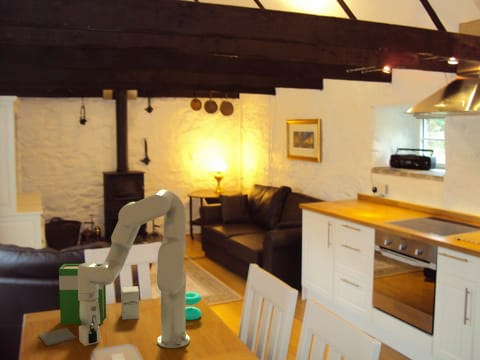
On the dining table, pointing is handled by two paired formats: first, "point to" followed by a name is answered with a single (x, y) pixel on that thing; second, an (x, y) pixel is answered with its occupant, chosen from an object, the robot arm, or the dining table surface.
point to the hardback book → (75, 295)
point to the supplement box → (130, 302)
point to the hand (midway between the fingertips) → (89, 339)
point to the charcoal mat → (56, 336)
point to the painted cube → (84, 334)
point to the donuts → (192, 299)
